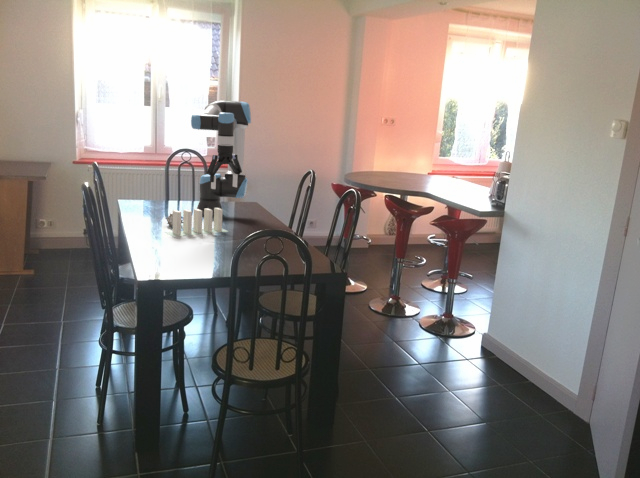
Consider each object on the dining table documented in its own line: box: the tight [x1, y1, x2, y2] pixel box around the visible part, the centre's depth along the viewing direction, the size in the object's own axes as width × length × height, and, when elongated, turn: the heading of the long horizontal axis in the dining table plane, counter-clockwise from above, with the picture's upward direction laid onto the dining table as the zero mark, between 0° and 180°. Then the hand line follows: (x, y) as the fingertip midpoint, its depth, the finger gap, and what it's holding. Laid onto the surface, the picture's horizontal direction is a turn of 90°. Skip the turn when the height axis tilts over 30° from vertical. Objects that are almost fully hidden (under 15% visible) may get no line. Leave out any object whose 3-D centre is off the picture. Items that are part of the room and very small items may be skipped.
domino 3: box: [192, 208, 203, 233], centre depth 289 cm, size 2×5×11 cm, turn 38°
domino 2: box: [182, 209, 193, 234], centre depth 285 cm, size 2×5×11 cm, turn 38°
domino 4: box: [203, 208, 213, 232], centre depth 292 cm, size 2×5×11 cm, turn 37°
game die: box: [164, 213, 183, 228], centre depth 299 cm, size 9×8×10 cm
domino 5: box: [213, 208, 224, 231], centre depth 295 cm, size 2×5×11 cm, turn 38°
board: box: [164, 227, 230, 237], centre depth 290 cm, size 30×9×1 cm, turn 128°
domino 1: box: [172, 209, 182, 235], centre depth 282 cm, size 2×5×11 cm, turn 38°
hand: (224, 187), depth 294 cm, fingers open, 13 cm apart
